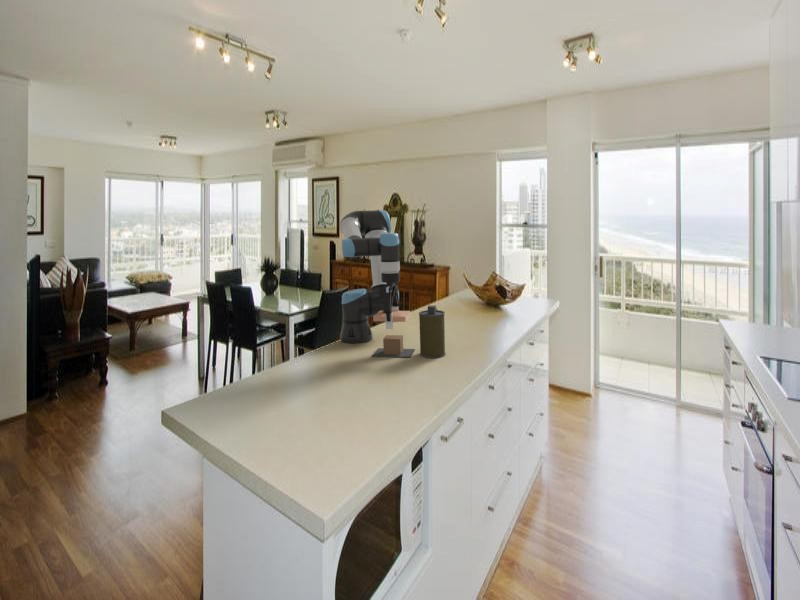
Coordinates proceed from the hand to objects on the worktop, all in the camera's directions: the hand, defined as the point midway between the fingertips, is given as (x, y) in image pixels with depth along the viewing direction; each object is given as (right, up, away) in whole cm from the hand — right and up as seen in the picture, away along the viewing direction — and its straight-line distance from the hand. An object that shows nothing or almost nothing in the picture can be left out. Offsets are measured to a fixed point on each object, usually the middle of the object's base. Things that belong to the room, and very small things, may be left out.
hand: (392, 325), depth 176 cm
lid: (0, +3, -1) cm, 3 cm away
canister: (+16, -12, -1) cm, 20 cm away
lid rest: (0, -12, +2) cm, 12 cm away
